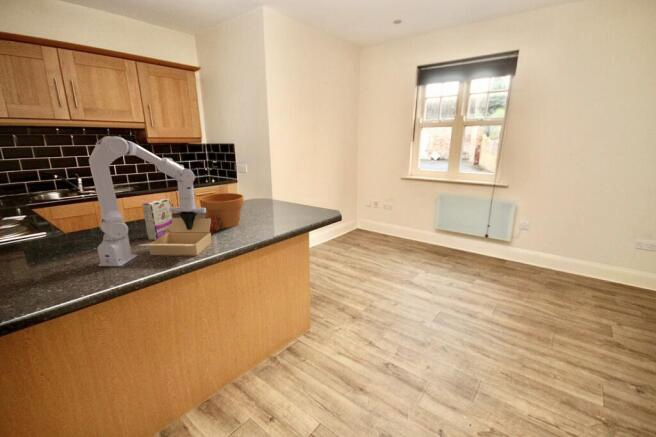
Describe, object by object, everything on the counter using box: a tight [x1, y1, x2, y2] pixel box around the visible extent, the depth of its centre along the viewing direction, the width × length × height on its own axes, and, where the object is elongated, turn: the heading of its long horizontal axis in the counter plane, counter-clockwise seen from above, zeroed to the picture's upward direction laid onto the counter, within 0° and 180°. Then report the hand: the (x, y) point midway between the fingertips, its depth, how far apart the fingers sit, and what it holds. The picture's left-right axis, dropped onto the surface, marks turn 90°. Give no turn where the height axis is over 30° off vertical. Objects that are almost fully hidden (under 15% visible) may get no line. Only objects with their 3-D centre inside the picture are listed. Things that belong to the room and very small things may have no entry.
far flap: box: [170, 217, 211, 233], centre depth 123 cm, size 6×16×1 cm
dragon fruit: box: [201, 216, 222, 234], centre depth 136 cm, size 8×8×12 cm
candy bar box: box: [141, 198, 176, 241], centre depth 129 cm, size 11×5×16 cm, turn 168°
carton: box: [148, 232, 212, 257], centre depth 116 cm, size 14×18×4 cm
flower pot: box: [199, 192, 244, 230], centre depth 147 cm, size 21×21×15 cm
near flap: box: [139, 243, 194, 247], centre depth 105 cm, size 6×16×1 cm, turn 90°
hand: (189, 229), depth 122 cm, fingers closed, pressing on far flap
